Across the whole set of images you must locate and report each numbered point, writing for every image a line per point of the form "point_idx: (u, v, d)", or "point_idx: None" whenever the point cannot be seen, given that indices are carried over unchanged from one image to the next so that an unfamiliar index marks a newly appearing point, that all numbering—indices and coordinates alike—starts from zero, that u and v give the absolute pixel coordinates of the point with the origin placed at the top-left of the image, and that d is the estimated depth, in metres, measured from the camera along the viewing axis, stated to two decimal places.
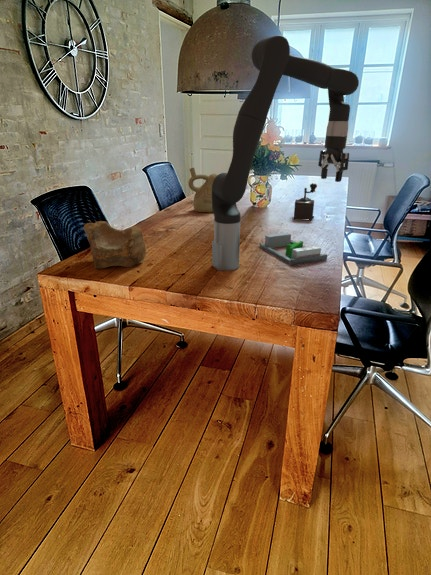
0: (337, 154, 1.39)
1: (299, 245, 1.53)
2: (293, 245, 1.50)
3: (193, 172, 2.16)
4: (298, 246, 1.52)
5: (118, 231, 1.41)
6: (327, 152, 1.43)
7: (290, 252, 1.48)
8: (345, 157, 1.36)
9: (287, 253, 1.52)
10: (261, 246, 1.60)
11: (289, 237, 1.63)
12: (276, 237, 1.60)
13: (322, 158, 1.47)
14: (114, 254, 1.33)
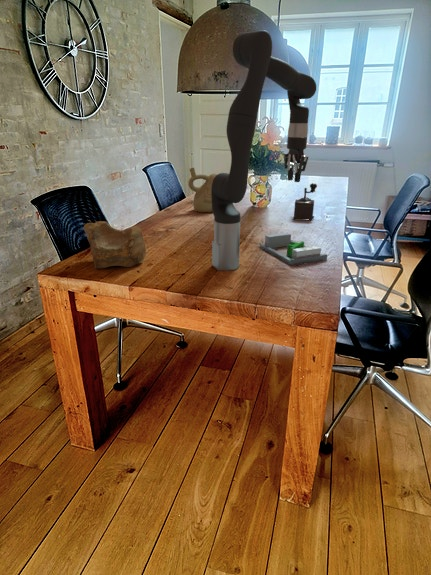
0: (298, 154, 1.47)
1: (300, 245, 1.53)
2: (294, 245, 1.50)
3: (193, 172, 2.16)
4: (299, 246, 1.52)
5: (118, 231, 1.41)
6: (289, 152, 1.52)
7: (291, 252, 1.48)
8: (304, 160, 1.45)
9: (288, 253, 1.52)
10: (261, 246, 1.60)
11: (289, 237, 1.63)
12: (276, 237, 1.60)
13: (287, 160, 1.55)
14: (114, 254, 1.33)
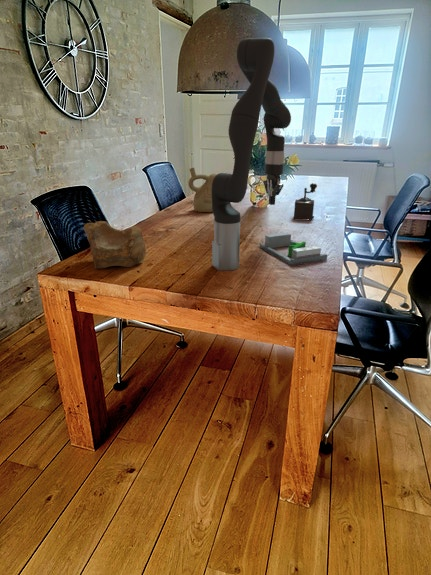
0: (275, 180, 1.55)
1: (302, 245, 1.52)
2: (296, 246, 1.50)
3: (193, 172, 2.16)
4: (301, 246, 1.52)
5: (118, 231, 1.41)
6: (267, 176, 1.60)
7: None
8: (279, 188, 1.55)
9: (289, 254, 1.52)
10: (261, 246, 1.60)
11: (289, 237, 1.63)
12: (276, 237, 1.60)
13: None
14: (114, 254, 1.33)
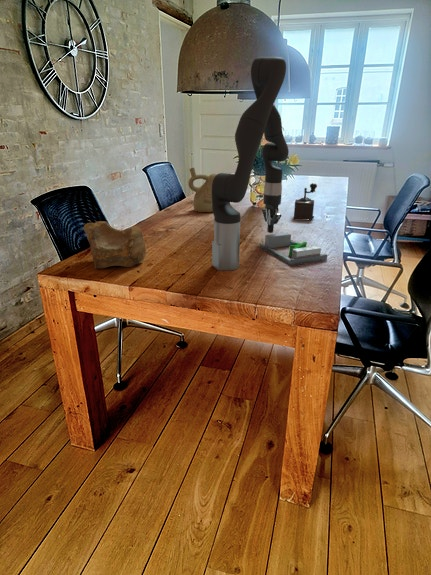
0: (273, 210, 1.61)
1: (303, 246, 1.52)
2: (297, 246, 1.50)
3: (193, 172, 2.16)
4: (302, 247, 1.52)
5: (118, 231, 1.41)
6: (266, 206, 1.65)
7: None
8: (277, 218, 1.60)
9: (290, 254, 1.51)
10: (261, 246, 1.60)
11: (289, 237, 1.63)
12: (276, 237, 1.60)
13: (265, 214, 1.68)
14: (114, 254, 1.33)
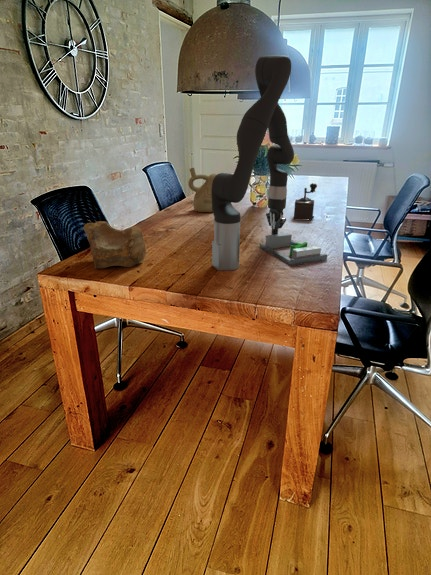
0: (278, 214, 1.57)
1: (303, 246, 1.52)
2: (297, 246, 1.49)
3: (193, 172, 2.16)
4: (302, 247, 1.51)
5: (118, 231, 1.41)
6: (270, 209, 1.62)
7: None
8: (281, 222, 1.57)
9: (291, 254, 1.51)
10: (261, 246, 1.60)
11: (290, 237, 1.62)
12: (277, 237, 1.60)
13: (269, 218, 1.64)
14: (114, 254, 1.33)
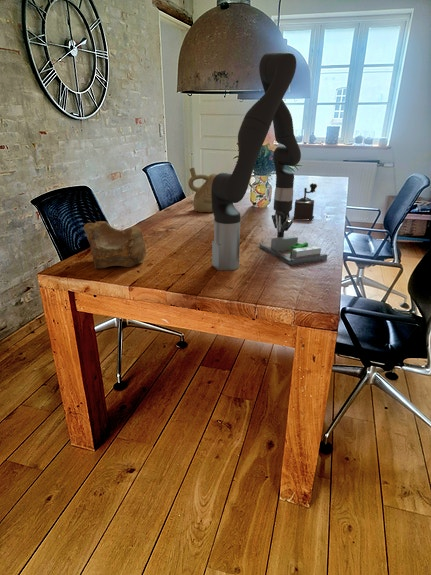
0: (284, 216, 1.53)
1: (304, 246, 1.52)
2: (298, 246, 1.49)
3: (193, 172, 2.16)
4: (303, 247, 1.51)
5: (118, 231, 1.41)
6: (276, 212, 1.58)
7: None
8: (288, 225, 1.53)
9: None
10: (261, 246, 1.60)
11: (296, 240, 1.58)
12: (282, 240, 1.56)
13: (275, 220, 1.61)
14: (114, 254, 1.33)
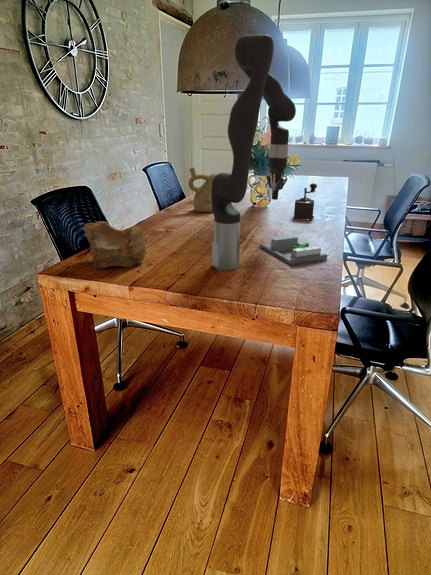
0: (278, 174, 1.53)
1: None
2: (299, 247, 1.48)
3: (193, 172, 2.16)
4: None
5: (118, 231, 1.41)
6: (270, 171, 1.58)
7: None
8: (282, 182, 1.52)
9: None
10: (261, 246, 1.60)
11: (296, 240, 1.58)
12: (283, 240, 1.56)
13: (270, 180, 1.60)
14: (114, 254, 1.33)
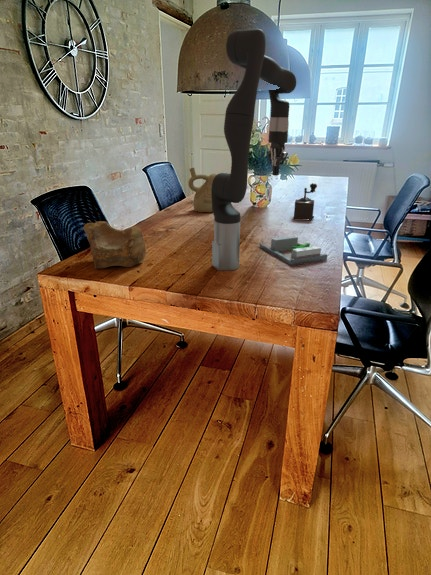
0: (279, 148, 1.49)
1: None
2: (299, 247, 1.48)
3: (193, 172, 2.16)
4: None
5: (118, 231, 1.41)
6: (271, 146, 1.54)
7: None
8: (283, 157, 1.49)
9: None
10: (261, 246, 1.60)
11: (296, 240, 1.58)
12: (283, 240, 1.56)
13: (270, 156, 1.57)
14: (114, 254, 1.33)
